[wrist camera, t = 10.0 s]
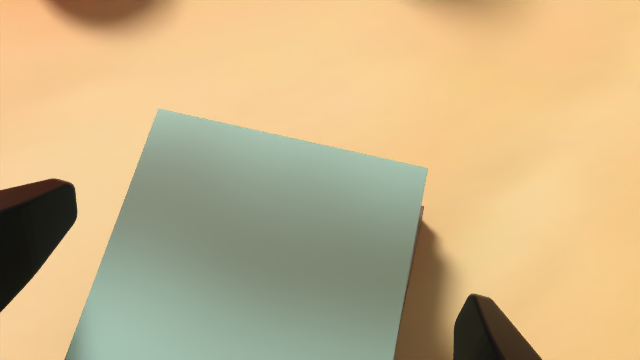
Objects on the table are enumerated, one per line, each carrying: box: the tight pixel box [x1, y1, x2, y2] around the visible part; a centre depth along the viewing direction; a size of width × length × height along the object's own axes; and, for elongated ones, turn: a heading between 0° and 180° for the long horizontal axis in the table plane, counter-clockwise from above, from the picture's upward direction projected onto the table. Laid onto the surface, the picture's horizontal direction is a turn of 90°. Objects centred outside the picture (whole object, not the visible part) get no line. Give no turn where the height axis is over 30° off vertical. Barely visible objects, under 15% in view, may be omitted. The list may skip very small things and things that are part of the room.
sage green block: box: [65, 109, 428, 360], centre depth 13 cm, size 6×6×9 cm
